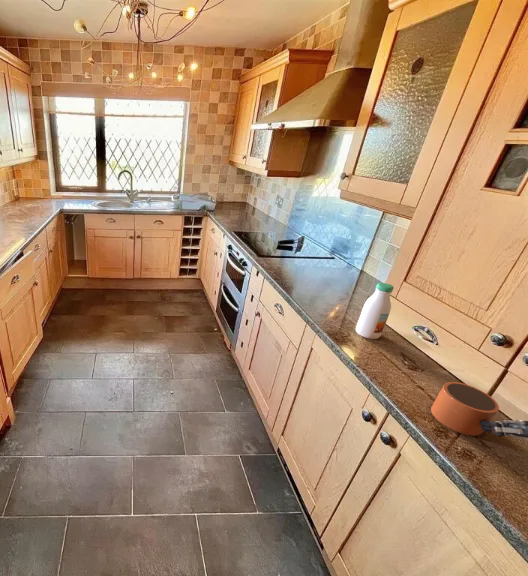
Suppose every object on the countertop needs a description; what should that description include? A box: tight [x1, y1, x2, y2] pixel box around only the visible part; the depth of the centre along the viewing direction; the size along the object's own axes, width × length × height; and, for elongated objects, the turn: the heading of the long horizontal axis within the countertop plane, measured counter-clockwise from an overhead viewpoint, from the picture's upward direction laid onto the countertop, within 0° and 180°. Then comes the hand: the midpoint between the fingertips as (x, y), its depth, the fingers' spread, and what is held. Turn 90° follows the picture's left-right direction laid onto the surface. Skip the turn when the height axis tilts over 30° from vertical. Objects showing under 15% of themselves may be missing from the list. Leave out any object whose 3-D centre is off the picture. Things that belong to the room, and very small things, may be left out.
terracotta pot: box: [430, 381, 500, 437], centre depth 78 cm, size 10×10×8 cm
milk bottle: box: [355, 282, 394, 340], centre depth 109 cm, size 8×8×20 cm
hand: (484, 425), depth 73 cm, fingers closed
